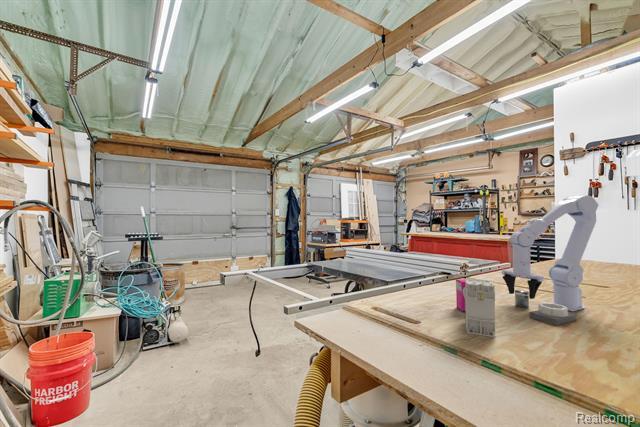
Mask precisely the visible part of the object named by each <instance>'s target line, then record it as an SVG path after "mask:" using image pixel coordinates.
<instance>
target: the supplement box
mask: <svg viewBox="0 0 640 427" xmlns="http://www.w3.org/2000/svg"><path fill="white" fill-rule="evenodd" d="M465 279H466V278H456V279H455V284H456V285H455V289H456V290H455V293H456V294H455V295H456V297H455V298H456V308H457V310H459V311H460V312H461V313H466V312H465Z"/></svg>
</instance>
